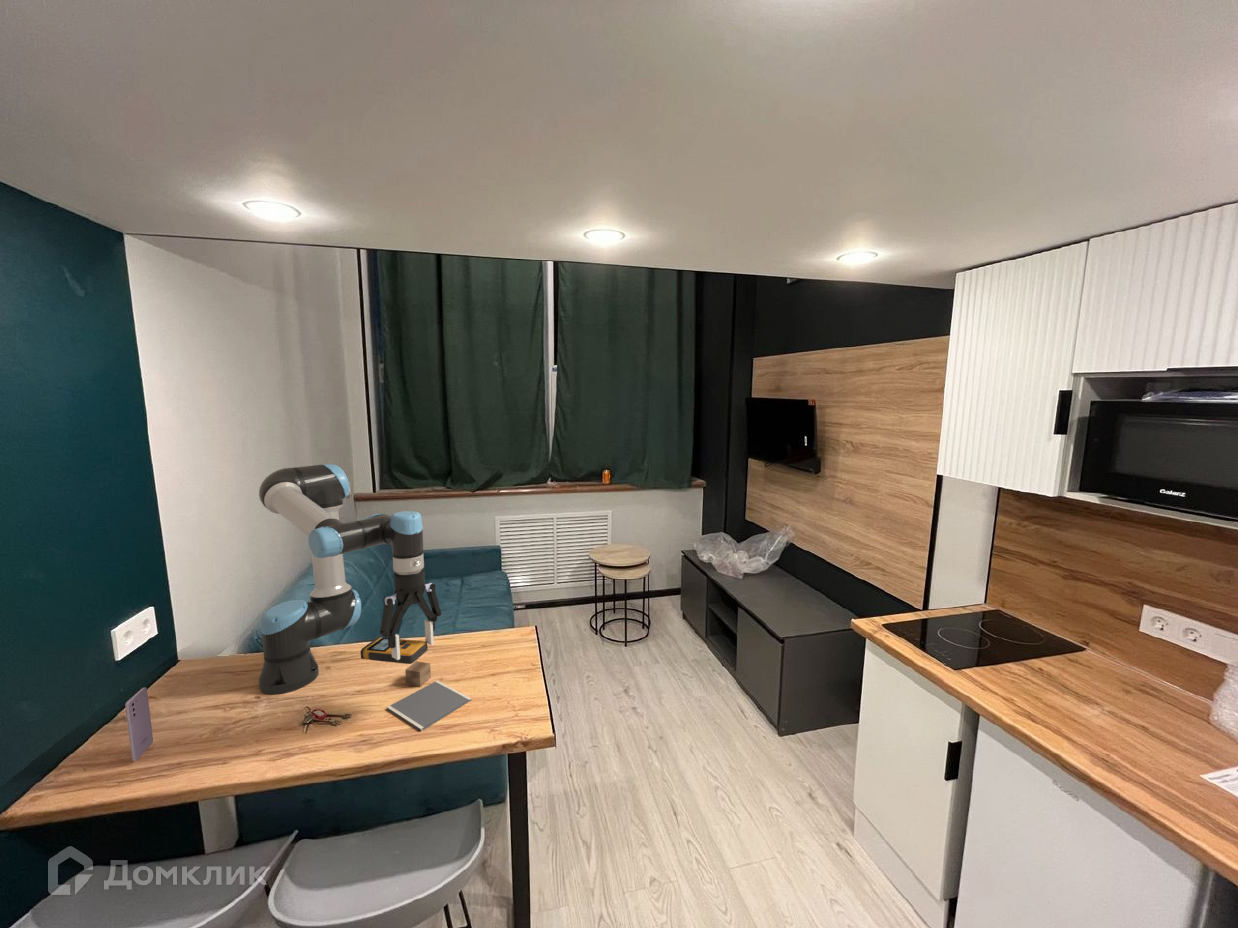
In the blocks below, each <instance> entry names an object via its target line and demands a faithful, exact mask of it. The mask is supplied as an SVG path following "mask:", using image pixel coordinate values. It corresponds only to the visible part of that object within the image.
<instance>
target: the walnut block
mask: <svg viewBox="0 0 1238 928" xmlns="http://www.w3.org/2000/svg"><path fill="white" fill-rule="evenodd" d="M404 671H405V685H406V686H407V685H408V686H413V687H418V688H421V687H422V686H423V685H425V683H427V682H428V681H429V680H430V679H431V678H432V672H431V663H429V662H423V661H417V660H416V661H415V662H413V663H412V664H410V665H409V666H408V667H407V668H405V669H404Z"/></svg>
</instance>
